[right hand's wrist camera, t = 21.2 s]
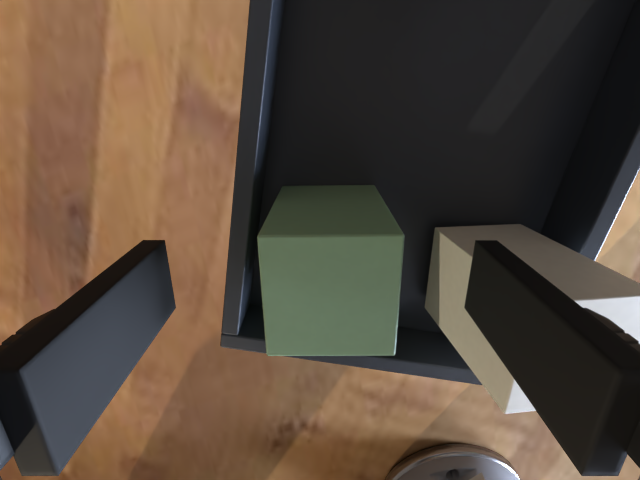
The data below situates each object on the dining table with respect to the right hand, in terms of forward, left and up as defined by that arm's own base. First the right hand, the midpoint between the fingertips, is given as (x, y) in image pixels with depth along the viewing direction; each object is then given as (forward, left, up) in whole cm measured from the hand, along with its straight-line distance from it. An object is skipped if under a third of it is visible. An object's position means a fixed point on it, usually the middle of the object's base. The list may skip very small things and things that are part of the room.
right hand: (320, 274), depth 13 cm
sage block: (0, 0, -6) cm, 6 cm away
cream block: (-8, -3, -5) cm, 9 cm away
